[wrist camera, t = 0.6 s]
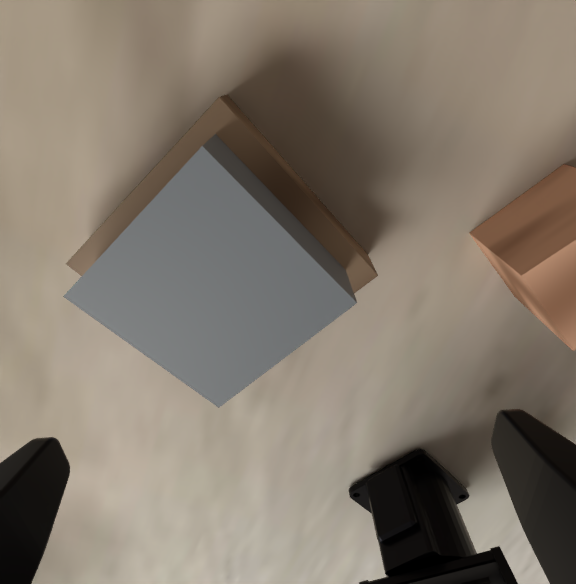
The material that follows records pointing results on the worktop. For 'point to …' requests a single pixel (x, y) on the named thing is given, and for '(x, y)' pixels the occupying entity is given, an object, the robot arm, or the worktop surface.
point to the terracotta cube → (538, 250)
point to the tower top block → (215, 278)
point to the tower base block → (264, 166)
